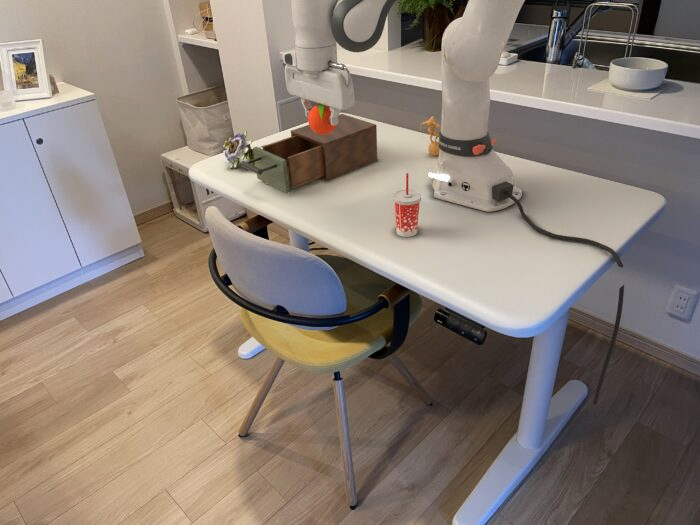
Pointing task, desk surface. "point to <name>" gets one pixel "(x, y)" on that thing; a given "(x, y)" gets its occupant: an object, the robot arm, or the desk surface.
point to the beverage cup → (407, 210)
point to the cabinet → (344, 145)
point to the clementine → (320, 119)
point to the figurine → (431, 125)
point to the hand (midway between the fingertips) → (321, 120)
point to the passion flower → (238, 149)
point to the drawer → (288, 163)
